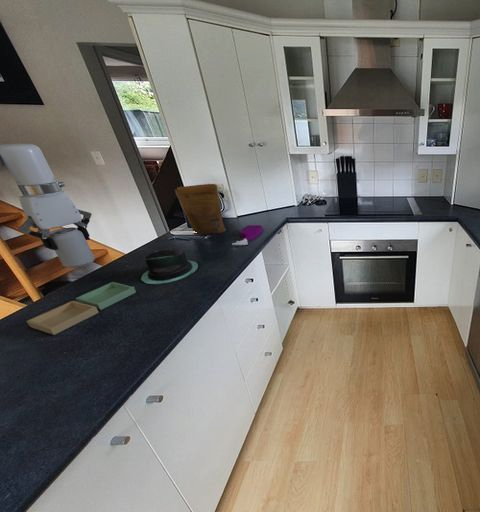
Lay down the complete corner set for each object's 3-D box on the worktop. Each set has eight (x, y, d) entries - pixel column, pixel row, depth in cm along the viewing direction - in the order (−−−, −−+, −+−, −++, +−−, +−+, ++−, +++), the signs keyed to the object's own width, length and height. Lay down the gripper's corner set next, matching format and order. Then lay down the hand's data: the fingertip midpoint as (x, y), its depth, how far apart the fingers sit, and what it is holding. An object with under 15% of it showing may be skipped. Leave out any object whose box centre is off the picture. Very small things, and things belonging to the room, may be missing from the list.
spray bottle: (264, 229, 164) (251, 246, 142) (245, 229, 163) (229, 247, 141) (263, 224, 163) (250, 241, 141) (244, 225, 162) (228, 242, 140)
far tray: (78, 303, 96) (75, 298, 95) (115, 287, 106) (112, 281, 105) (100, 310, 93) (97, 304, 92) (136, 292, 103) (133, 286, 102)
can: (58, 267, 88) (38, 233, 83) (85, 257, 95) (69, 225, 89) (75, 270, 87) (55, 235, 81) (102, 260, 93) (85, 227, 88)
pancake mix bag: (227, 233, 157) (215, 184, 145) (189, 237, 151) (173, 186, 138) (229, 229, 163) (217, 182, 150) (191, 233, 156) (176, 184, 144)
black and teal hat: (137, 288, 104) (136, 269, 117) (194, 293, 117) (187, 275, 131) (149, 252, 102) (147, 237, 116) (205, 261, 116) (197, 247, 129)
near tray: (30, 327, 85) (26, 321, 84) (76, 306, 95) (73, 300, 94) (54, 335, 82) (50, 328, 81) (99, 312, 92) (95, 306, 91)
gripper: (70, 182, 88) (94, 233, 96) (-13, 194, 73) (24, 253, 81) (86, 184, 86) (109, 236, 94) (4, 197, 71) (40, 257, 79)
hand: (70, 243), depth 87 cm, fingers closed on can, 7 cm apart
